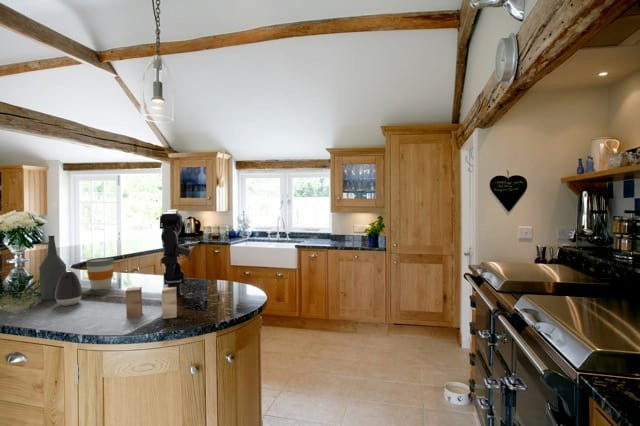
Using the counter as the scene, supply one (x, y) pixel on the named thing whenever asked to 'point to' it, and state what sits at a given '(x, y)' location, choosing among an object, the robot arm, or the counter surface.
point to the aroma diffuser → (68, 289)
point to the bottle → (50, 271)
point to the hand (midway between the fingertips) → (171, 276)
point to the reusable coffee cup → (100, 272)
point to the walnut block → (134, 302)
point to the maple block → (169, 302)
